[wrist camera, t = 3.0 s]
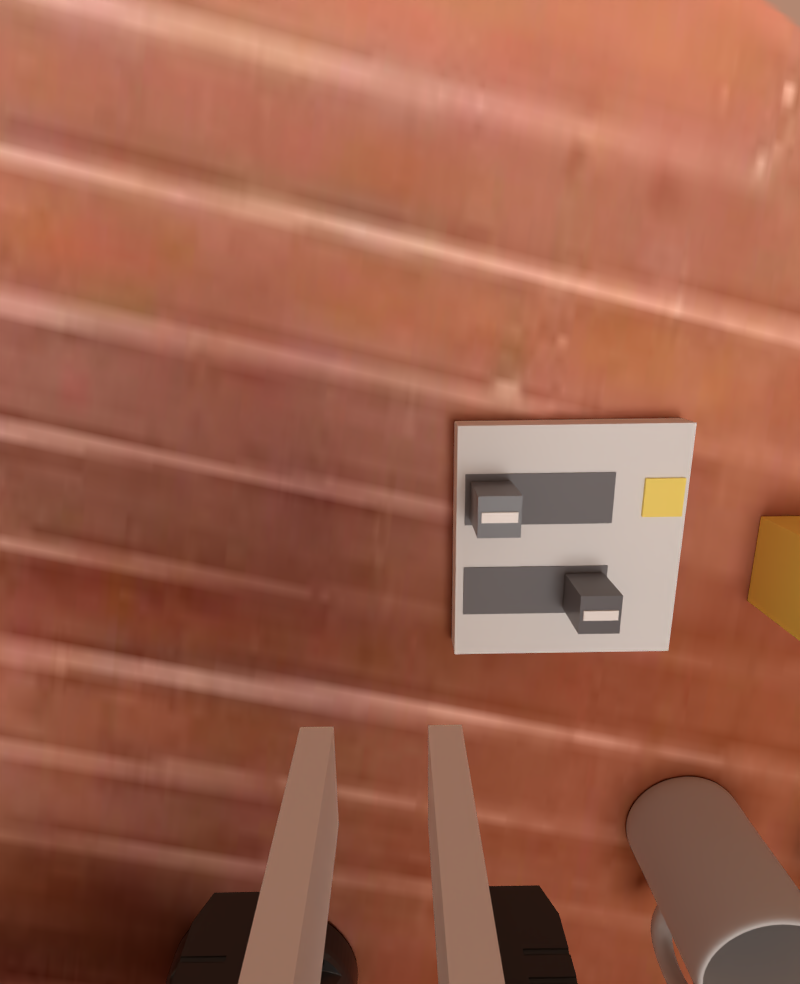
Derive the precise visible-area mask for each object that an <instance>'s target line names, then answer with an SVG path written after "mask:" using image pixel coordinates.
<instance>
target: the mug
mask: <svg viewBox="0 0 800 984" xmlns="http://www.w3.org/2000/svg"><path fill="white" fill-rule="evenodd" d="M626 832H627V838H628V841H629V844H630V847H631V849H632V851H633V854H634V856H635V858H636V860H637V862H638V864H639V866H640V868H641V870H642V872H643V874H644V876H645V878H646V880H647V882H648V885H649V887H650V889H651V891H652V893H653V895H654V898H655V900H656V902H657V906H656V908H655V911H654V913H653V916H652V920H651V937H652V943H653V947H654V951H655V954H656V957H657V960H658V963H659V966H660V968H661V971H662V973H663V976H664V978H665V980H666V982H667V984H688V983H687V982H686V980H685V978H684V976H683V974H682V972H681V970H680V968H679V965H678V963H677V960H676V957H675V953H674V949H673V943H672V937H673V939H674V941H675V944H676V946H677V948H678V950H679V952H680V954H681V957H682V959H683V961H684V963H685V965H686V968H687V970H688V972H689V974H690V976H691V978H692V981H693V984H800V890H799V889H798V888H797V886H796V885H795V884H794V882H793V881H792V879H791V878H790V877H789V875H788V874H787V873H786V871H785V870H784V868H783V867H782V866H781V864H780V863H779V861H778V860H777V859H776V857H775V856H774V855H773V853H772V852H771V850H770V849H769V848H768V846H767V845H766V843H765V842H764V841H763V839H762V838H761V837H760V835H759V834H758V832H757V831H756V830H755V828H754V827H753V825H752V824H751V822H750V821H749V820H748V818H747V817H746V815H745V814H744V812H743V811H742V809H741V808H740V806H739V805H738V804H737V802H736V801H735V799H734V798H733V797H732V796H731V795H730V794H729V792H728V791H726V790H725V789H724V788H723V787H721V786H720V785H718V784H717V783H715V782H713V781H710V780H707V779H704V778H699V777H677V778H672V779H668V780H665V781H663V782H660V783H658V784H656V785H654V786H652V787H651V788H649V789H648V790H646V791H645V792H644V793H643V794H642V795H641V796H640V797H639V798H638V799H637V800H636V801H635V803H634V804H633V806H632V808H631V810H630V812H629V815H628V818H627V823H626Z"/></svg>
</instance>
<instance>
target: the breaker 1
mask: <svg viewBox="0 0 800 984" xmlns="http://www.w3.org/2000/svg"><path fill="white" fill-rule="evenodd" d="M522 499H523V496H522V494H521V493H520V492H519V491H518V489H517V488H516V487H515V485H514V484H513V483H512V482H511V481H492V482H471V502H470V521H471V524H472V526H473V529H474V531H475V534H476V536H477V538H521V521H522Z"/></svg>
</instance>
